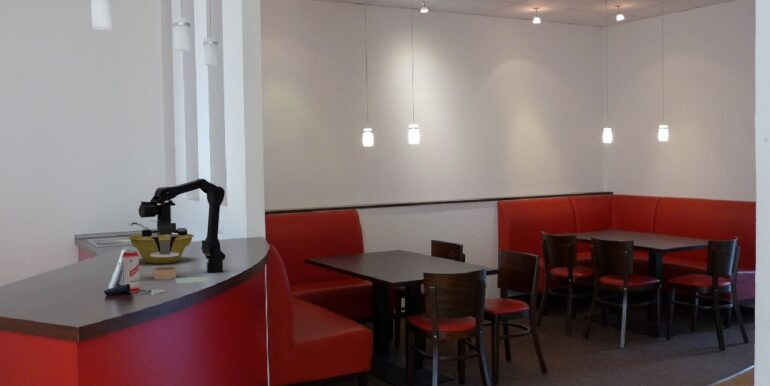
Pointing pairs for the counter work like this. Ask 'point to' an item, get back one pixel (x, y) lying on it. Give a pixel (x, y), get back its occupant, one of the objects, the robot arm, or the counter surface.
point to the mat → (191, 280)
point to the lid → (164, 251)
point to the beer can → (130, 270)
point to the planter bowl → (149, 246)
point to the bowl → (164, 273)
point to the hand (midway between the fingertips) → (164, 252)
